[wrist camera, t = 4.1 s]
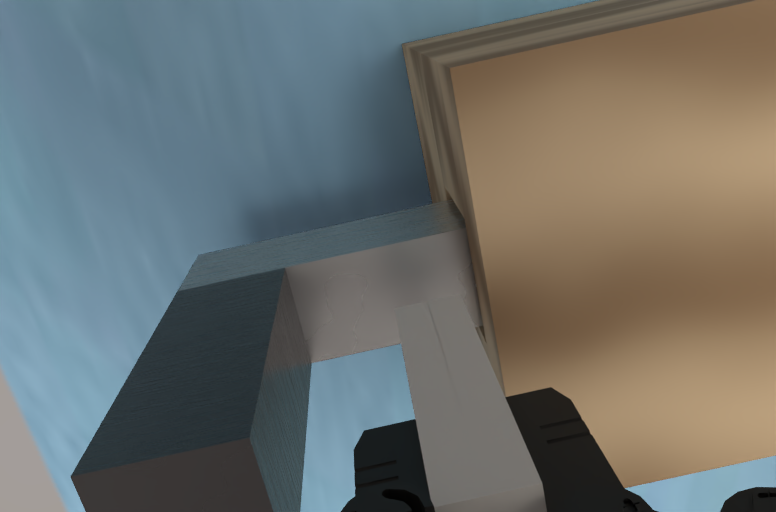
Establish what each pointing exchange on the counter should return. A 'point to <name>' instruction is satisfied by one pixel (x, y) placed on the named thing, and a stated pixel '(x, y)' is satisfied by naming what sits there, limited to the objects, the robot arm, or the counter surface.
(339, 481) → the counter surface
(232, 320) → the shaft
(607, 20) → the block
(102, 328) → the counter surface
